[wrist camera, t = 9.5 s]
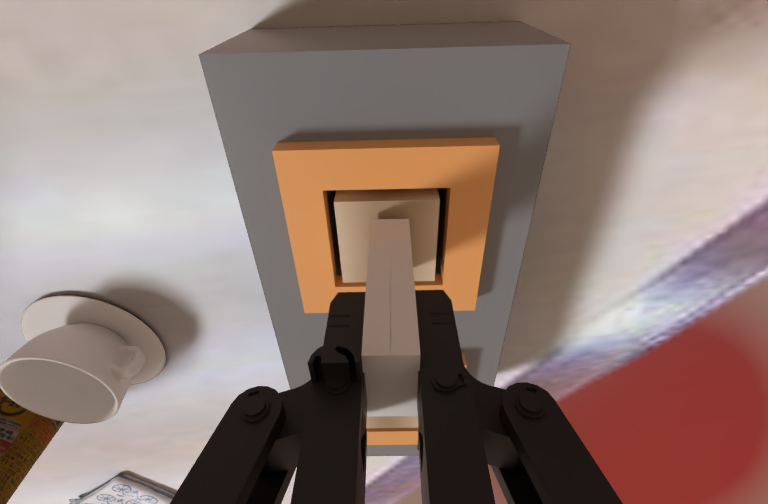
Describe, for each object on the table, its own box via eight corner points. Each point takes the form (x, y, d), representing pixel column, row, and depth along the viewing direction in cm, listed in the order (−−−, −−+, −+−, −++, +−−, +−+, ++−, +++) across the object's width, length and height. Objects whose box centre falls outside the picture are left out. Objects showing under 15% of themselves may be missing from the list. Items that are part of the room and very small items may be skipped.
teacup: (84, 386, 34) (46, 440, 30) (-7, 302, 28) (-68, 355, 24) (192, 371, 33) (166, 425, 29) (120, 280, 27) (76, 332, 23)
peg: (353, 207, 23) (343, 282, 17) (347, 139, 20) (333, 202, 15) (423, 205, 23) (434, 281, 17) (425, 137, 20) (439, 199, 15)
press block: (320, 384, 33) (307, 468, 28) (249, 29, 18) (188, 59, 12) (464, 382, 33) (480, 466, 27) (519, 21, 18) (580, 48, 12)
